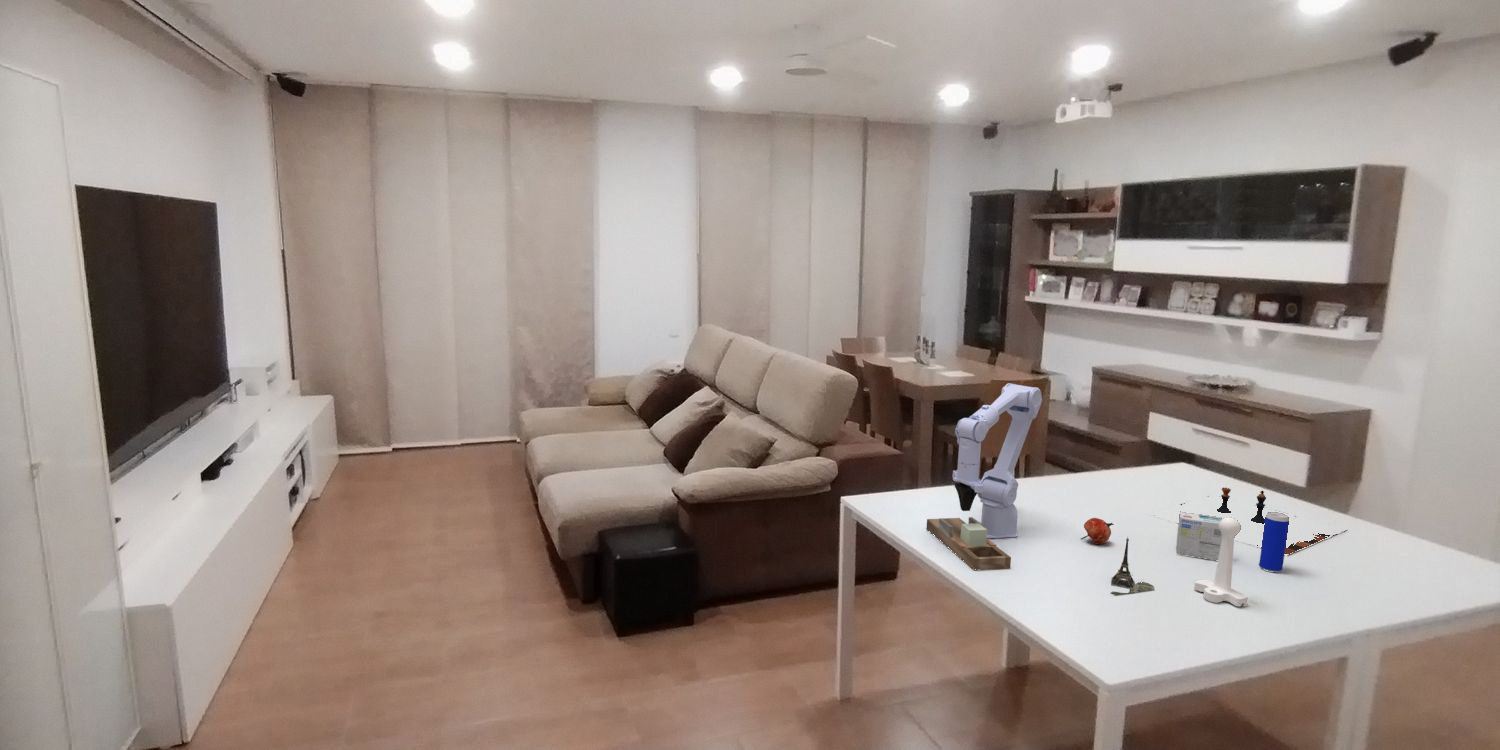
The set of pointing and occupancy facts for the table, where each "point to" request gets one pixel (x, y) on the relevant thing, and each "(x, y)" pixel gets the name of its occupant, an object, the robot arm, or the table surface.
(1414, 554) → the table surface
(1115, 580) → the eiffel tower figurine
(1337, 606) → the table surface
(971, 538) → the green block
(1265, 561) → the beverage can
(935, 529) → the brown wooden long tray
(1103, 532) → the pomegranate
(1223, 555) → the joystick
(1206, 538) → the light bulb box
